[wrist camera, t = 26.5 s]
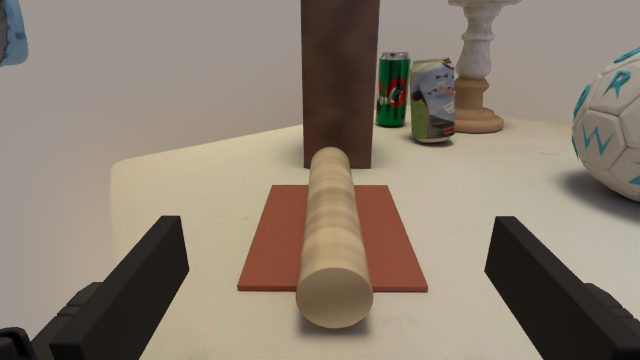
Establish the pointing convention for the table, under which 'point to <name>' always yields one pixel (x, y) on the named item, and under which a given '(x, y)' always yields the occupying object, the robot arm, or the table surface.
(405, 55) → the soda can
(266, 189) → the table surface
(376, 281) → the mat
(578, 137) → the puzzle ball
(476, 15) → the candle holder
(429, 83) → the beverage can
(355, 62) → the stand
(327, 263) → the wooden dowel rod
